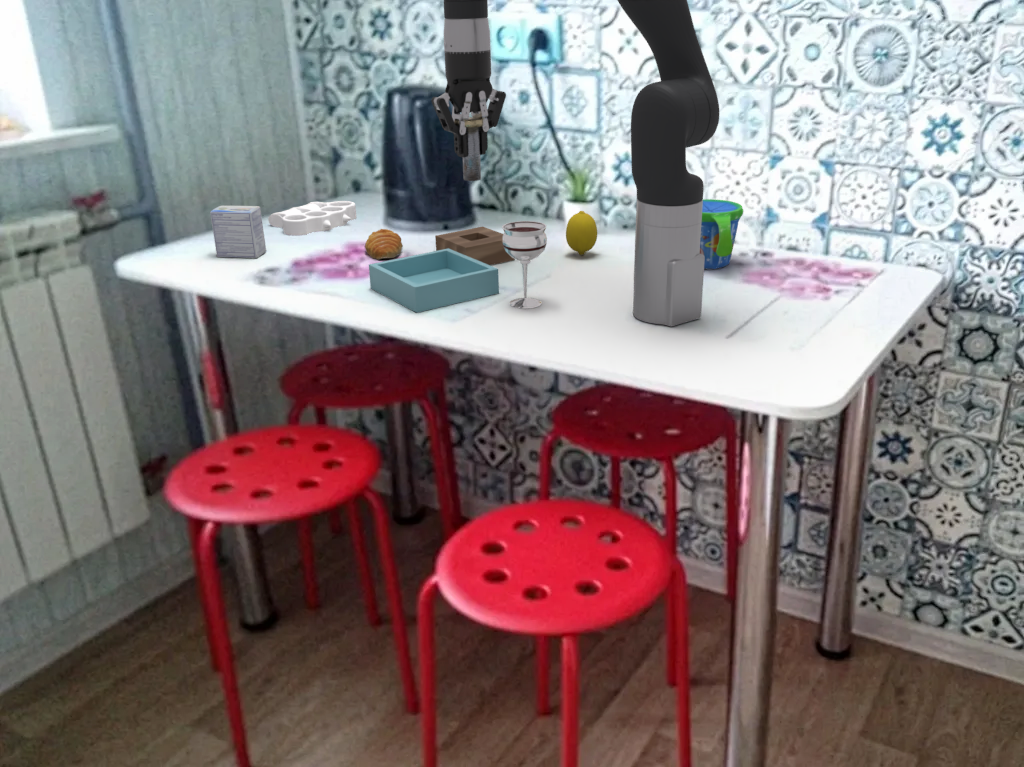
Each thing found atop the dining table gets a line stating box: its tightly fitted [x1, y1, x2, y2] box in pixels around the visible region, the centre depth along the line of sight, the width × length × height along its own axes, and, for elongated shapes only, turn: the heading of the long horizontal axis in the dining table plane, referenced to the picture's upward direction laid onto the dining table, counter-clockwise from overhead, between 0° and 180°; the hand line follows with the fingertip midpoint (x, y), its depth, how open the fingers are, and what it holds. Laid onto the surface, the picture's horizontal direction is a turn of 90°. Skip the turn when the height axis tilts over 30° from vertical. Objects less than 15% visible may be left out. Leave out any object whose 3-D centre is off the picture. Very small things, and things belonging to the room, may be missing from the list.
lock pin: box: [457, 116, 483, 182], centre depth 163 cm, size 4×4×10 cm
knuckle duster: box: [267, 200, 357, 237], centre depth 196 cm, size 3×18×15 cm
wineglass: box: [501, 220, 548, 309], centre depth 146 cm, size 7×7×12 cm
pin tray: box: [368, 248, 500, 314], centre depth 154 cm, size 15×15×4 cm
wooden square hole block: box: [435, 226, 516, 266], centre depth 170 cm, size 10×10×4 cm
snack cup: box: [700, 198, 744, 270], centre depth 163 cm, size 16×10×10 cm
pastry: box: [364, 228, 404, 260], centre depth 175 cm, size 9×7×4 cm
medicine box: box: [209, 205, 267, 259], centre depth 175 cm, size 8×4×9 cm, turn 80°
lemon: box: [565, 210, 598, 256], centre depth 170 cm, size 6×6×8 cm
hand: (471, 154), depth 164 cm, fingers closed on lock pin, 3 cm apart
